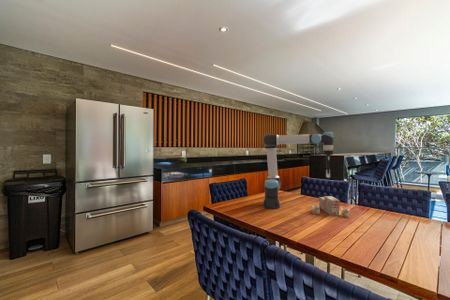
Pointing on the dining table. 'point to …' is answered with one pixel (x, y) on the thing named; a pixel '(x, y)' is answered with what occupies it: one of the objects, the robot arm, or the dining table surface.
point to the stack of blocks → (329, 205)
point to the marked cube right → (345, 212)
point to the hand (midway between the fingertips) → (327, 176)
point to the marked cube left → (316, 209)
